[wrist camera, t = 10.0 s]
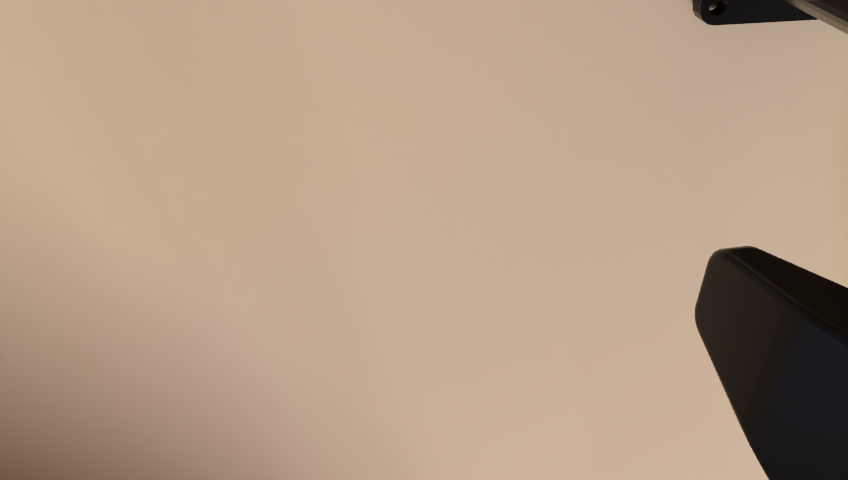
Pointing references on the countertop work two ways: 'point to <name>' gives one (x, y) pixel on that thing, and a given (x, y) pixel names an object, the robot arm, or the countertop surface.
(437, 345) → the countertop surface
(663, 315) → the countertop surface
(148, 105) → the countertop surface
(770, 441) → the robot arm
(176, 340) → the countertop surface
